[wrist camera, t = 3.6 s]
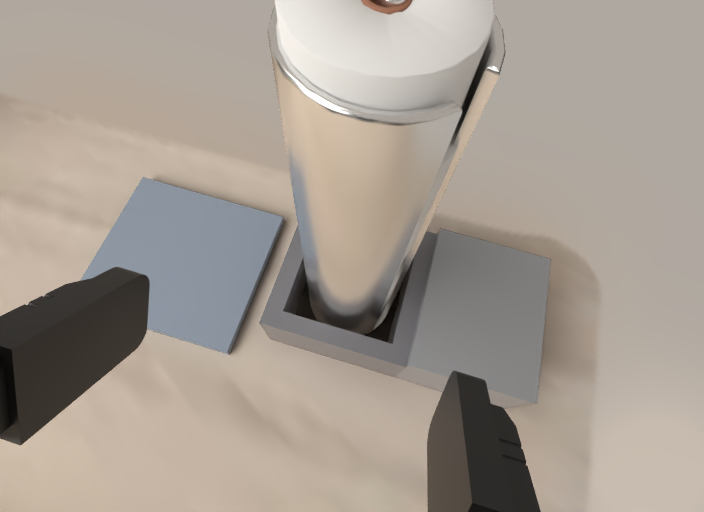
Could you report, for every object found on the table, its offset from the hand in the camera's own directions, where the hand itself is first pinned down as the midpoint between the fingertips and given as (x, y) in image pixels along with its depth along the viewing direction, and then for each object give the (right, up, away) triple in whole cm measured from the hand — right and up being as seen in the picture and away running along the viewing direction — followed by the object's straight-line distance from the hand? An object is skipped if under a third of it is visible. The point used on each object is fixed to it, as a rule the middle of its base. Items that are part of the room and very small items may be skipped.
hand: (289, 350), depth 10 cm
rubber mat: (-12, +2, +23) cm, 26 cm away
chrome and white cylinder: (+1, -1, +23) cm, 23 cm away
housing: (+5, -2, +22) cm, 23 cm away
